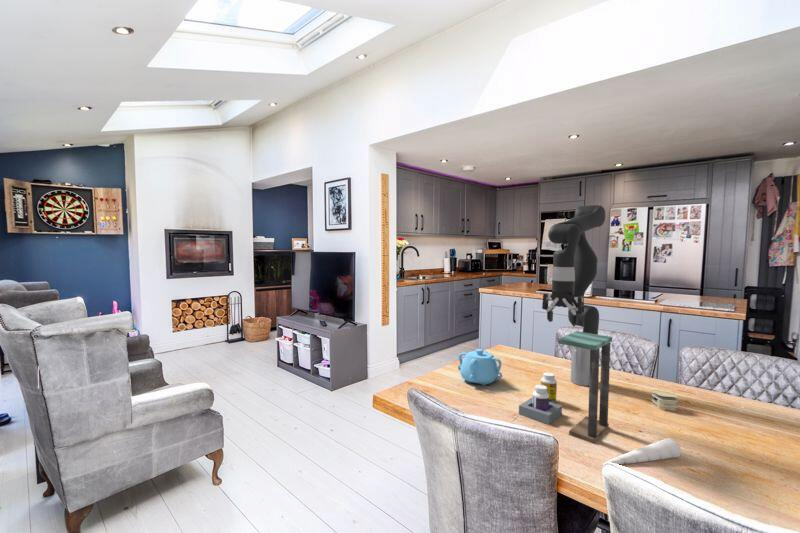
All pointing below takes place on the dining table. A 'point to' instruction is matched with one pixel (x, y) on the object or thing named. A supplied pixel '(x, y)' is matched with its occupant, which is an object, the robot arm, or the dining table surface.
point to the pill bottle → (540, 398)
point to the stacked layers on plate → (665, 400)
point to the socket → (540, 412)
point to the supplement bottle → (550, 385)
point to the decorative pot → (479, 367)
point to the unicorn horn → (651, 452)
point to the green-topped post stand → (593, 383)
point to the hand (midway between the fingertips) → (562, 323)
